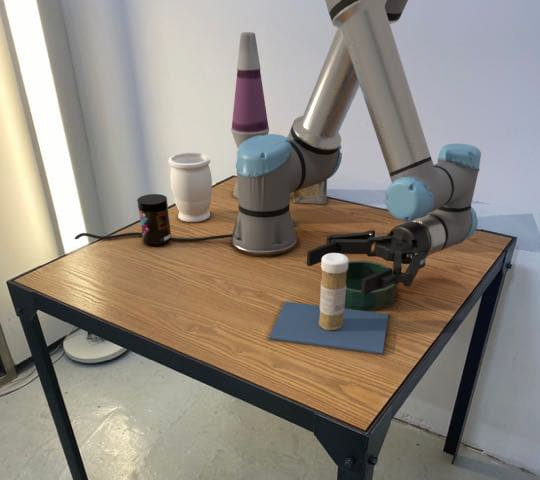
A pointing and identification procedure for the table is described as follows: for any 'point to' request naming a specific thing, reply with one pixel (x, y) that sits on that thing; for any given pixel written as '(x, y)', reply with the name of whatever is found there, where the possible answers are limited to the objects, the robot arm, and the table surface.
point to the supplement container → (154, 219)
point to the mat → (309, 332)
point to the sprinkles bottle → (333, 291)
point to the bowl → (354, 285)
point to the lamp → (248, 95)
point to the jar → (191, 185)
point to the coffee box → (312, 194)
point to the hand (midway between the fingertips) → (334, 272)
